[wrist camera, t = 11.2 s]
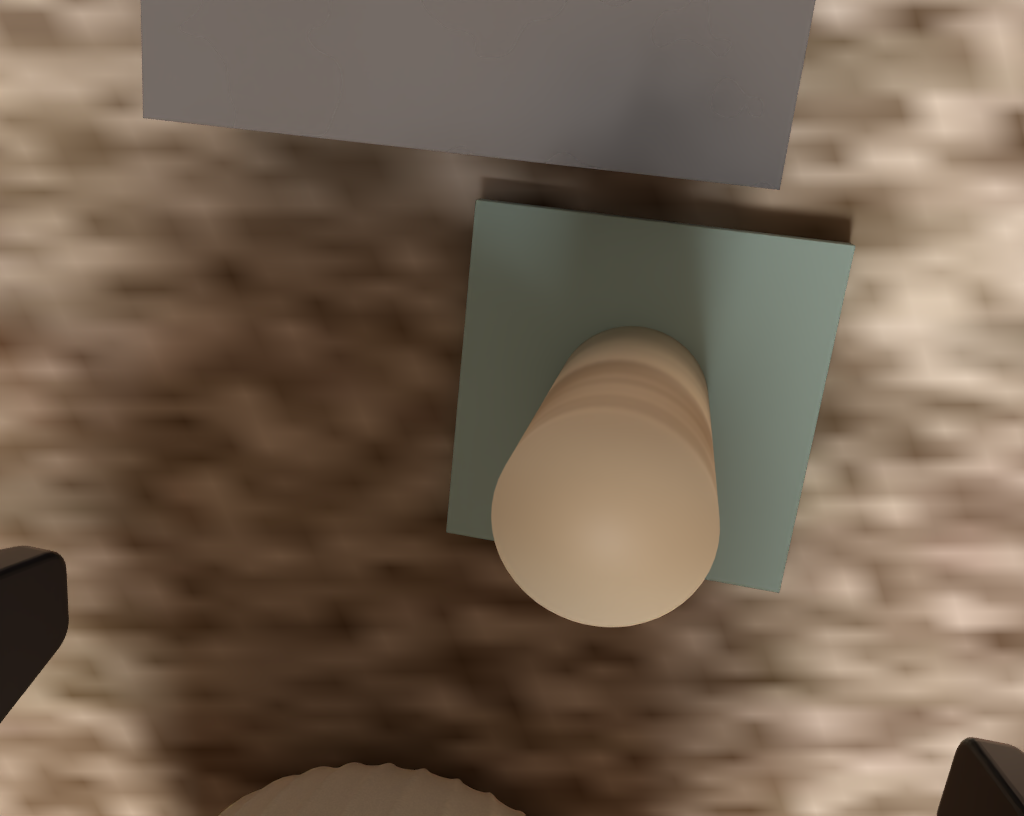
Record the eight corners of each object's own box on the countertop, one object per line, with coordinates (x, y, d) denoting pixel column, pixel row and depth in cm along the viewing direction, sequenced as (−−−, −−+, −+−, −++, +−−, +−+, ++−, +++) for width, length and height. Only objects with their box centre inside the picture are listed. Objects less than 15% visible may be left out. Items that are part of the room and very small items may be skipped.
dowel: (694, 483, 20) (699, 646, 13) (548, 458, 20) (481, 603, 14) (720, 337, 19) (739, 435, 12) (566, 316, 19) (503, 399, 13)
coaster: (776, 580, 21) (779, 593, 20) (452, 522, 22) (446, 532, 21) (849, 243, 18) (855, 246, 18) (481, 198, 20) (475, 199, 19)
